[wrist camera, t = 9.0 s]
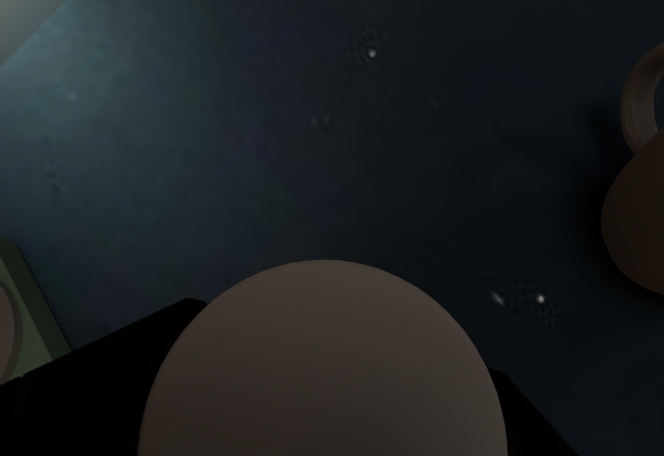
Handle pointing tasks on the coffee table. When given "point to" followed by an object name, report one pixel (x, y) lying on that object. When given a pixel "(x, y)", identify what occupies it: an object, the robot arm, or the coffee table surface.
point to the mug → (639, 182)
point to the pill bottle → (323, 373)
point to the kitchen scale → (24, 319)
